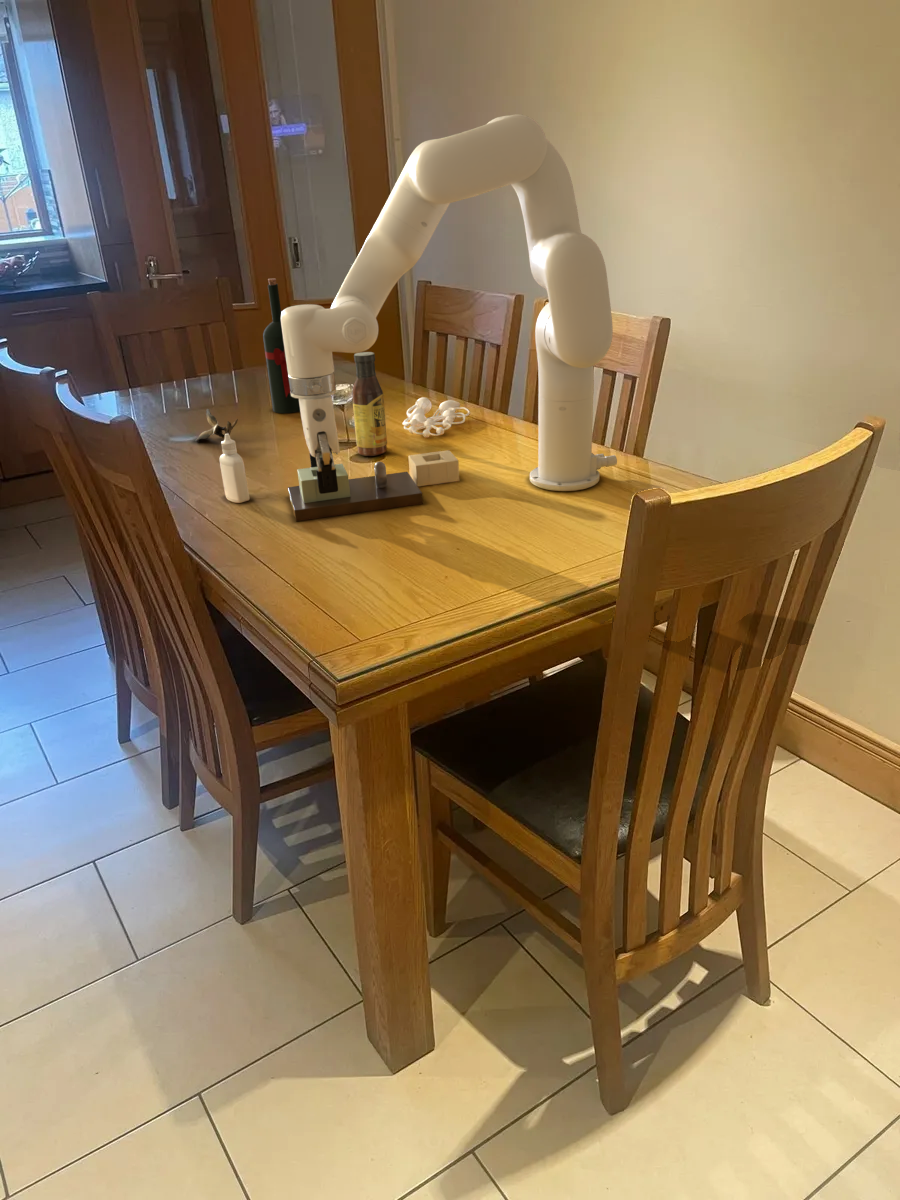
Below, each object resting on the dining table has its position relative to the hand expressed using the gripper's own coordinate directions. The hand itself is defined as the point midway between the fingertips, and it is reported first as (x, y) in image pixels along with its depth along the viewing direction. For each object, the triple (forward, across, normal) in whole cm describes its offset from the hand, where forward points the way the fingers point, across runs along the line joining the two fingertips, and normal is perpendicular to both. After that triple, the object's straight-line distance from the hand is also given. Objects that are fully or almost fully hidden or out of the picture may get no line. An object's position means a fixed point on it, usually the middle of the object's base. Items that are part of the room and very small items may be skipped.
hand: (325, 482), depth 150 cm
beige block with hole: (+4, +6, -21) cm, 22 cm away
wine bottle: (+4, +67, 0) cm, 67 cm away
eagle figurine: (+4, +48, +18) cm, 51 cm away
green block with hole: (+2, 0, 0) cm, 2 cm away
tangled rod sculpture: (+4, +40, -30) cm, 50 cm away
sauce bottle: (+4, +26, -13) cm, 29 cm away
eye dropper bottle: (+4, +9, +15) cm, 18 cm away
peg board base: (+4, 0, -5) cm, 6 cm away
